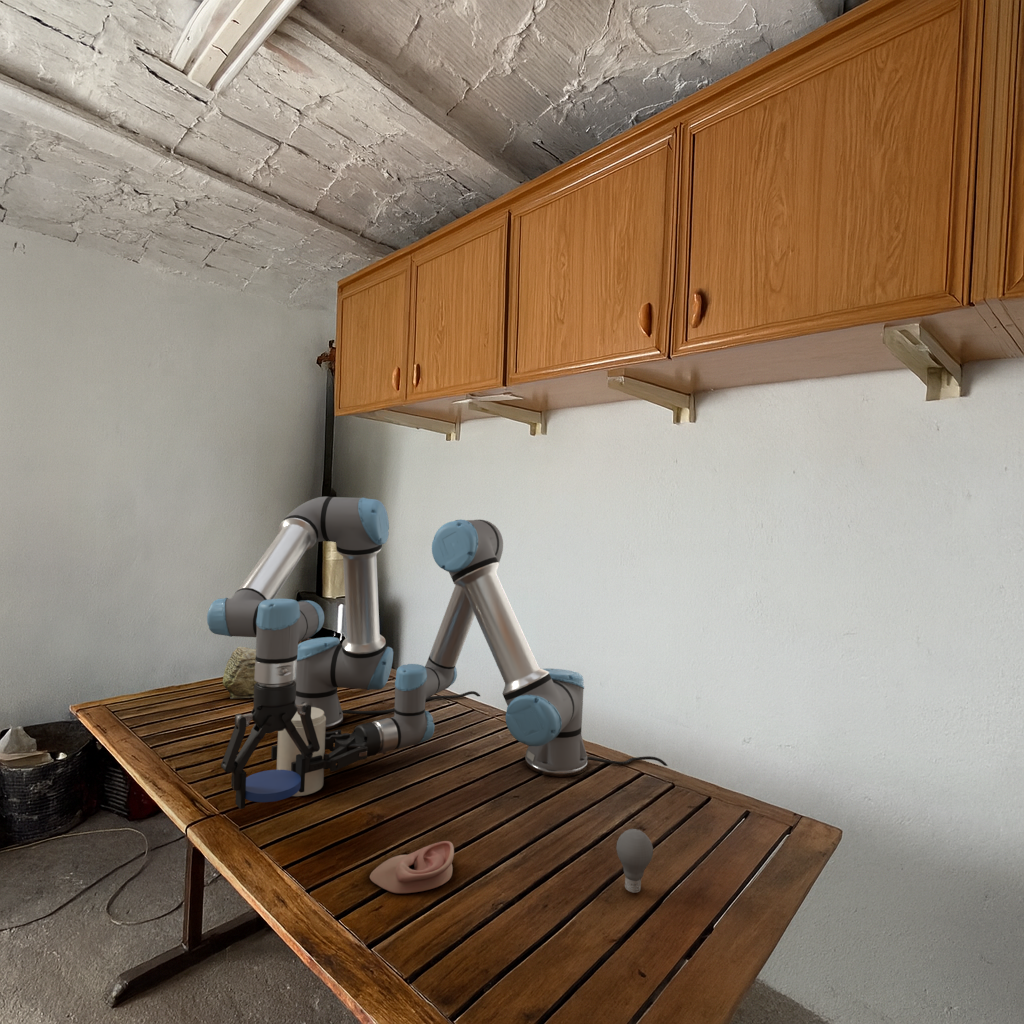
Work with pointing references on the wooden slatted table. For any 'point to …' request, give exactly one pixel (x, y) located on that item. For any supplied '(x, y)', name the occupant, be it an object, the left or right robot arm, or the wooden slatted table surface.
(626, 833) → the light bulb
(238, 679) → the fossil
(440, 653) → the right robot arm
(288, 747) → the jar
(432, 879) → the anatomical model
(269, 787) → the lid
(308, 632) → the left robot arm
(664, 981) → the wooden slatted table surface
